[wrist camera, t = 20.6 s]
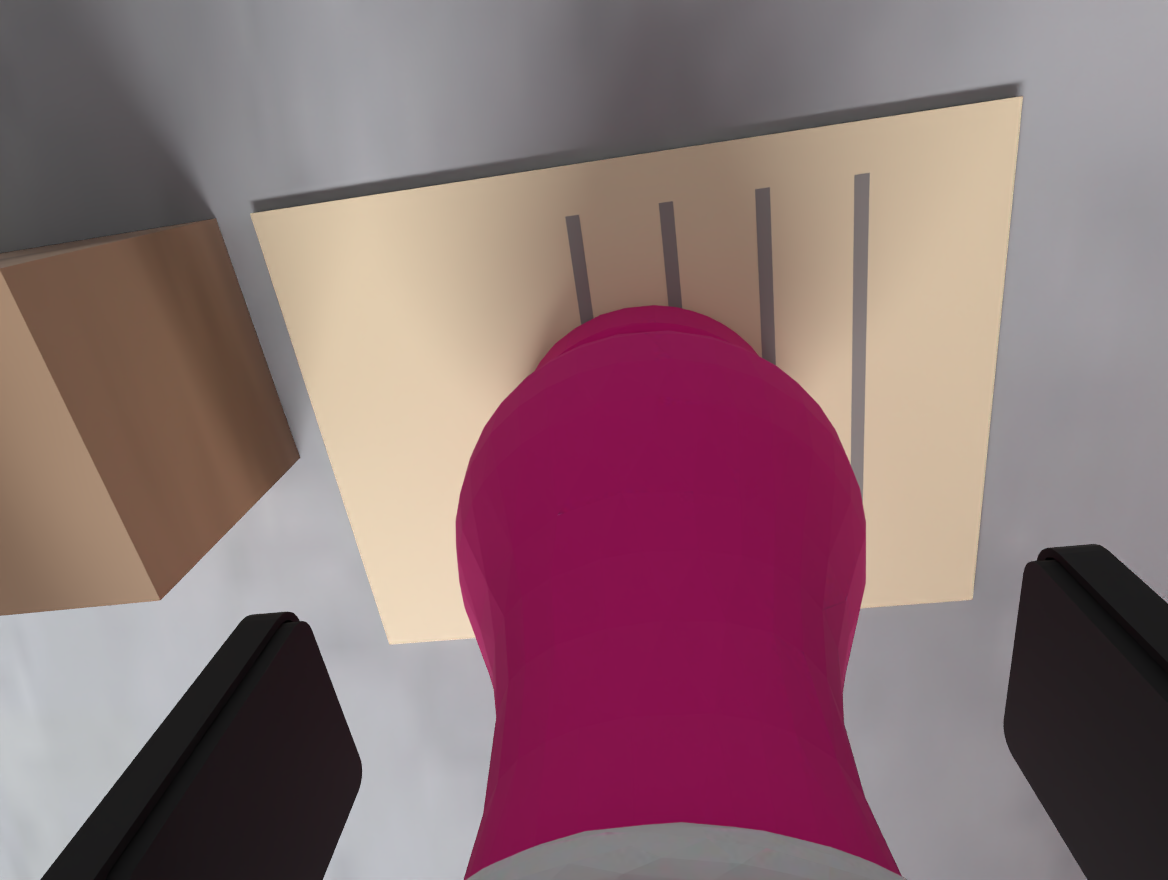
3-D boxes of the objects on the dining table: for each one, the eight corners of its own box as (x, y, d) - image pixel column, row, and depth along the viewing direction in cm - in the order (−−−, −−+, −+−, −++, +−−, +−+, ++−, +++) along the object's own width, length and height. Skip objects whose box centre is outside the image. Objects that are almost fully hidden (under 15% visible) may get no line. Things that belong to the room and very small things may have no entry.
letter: (1017, 96, 14) (1022, 96, 14) (969, 595, 19) (972, 599, 18) (254, 212, 15) (249, 213, 15) (391, 639, 20) (389, 644, 20)
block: (218, 218, 16) (-1, 268, 10) (301, 456, 18) (160, 600, 13) (-20, 255, 16) (-343, 323, 11) (91, 481, 19) (-128, 627, 13)
